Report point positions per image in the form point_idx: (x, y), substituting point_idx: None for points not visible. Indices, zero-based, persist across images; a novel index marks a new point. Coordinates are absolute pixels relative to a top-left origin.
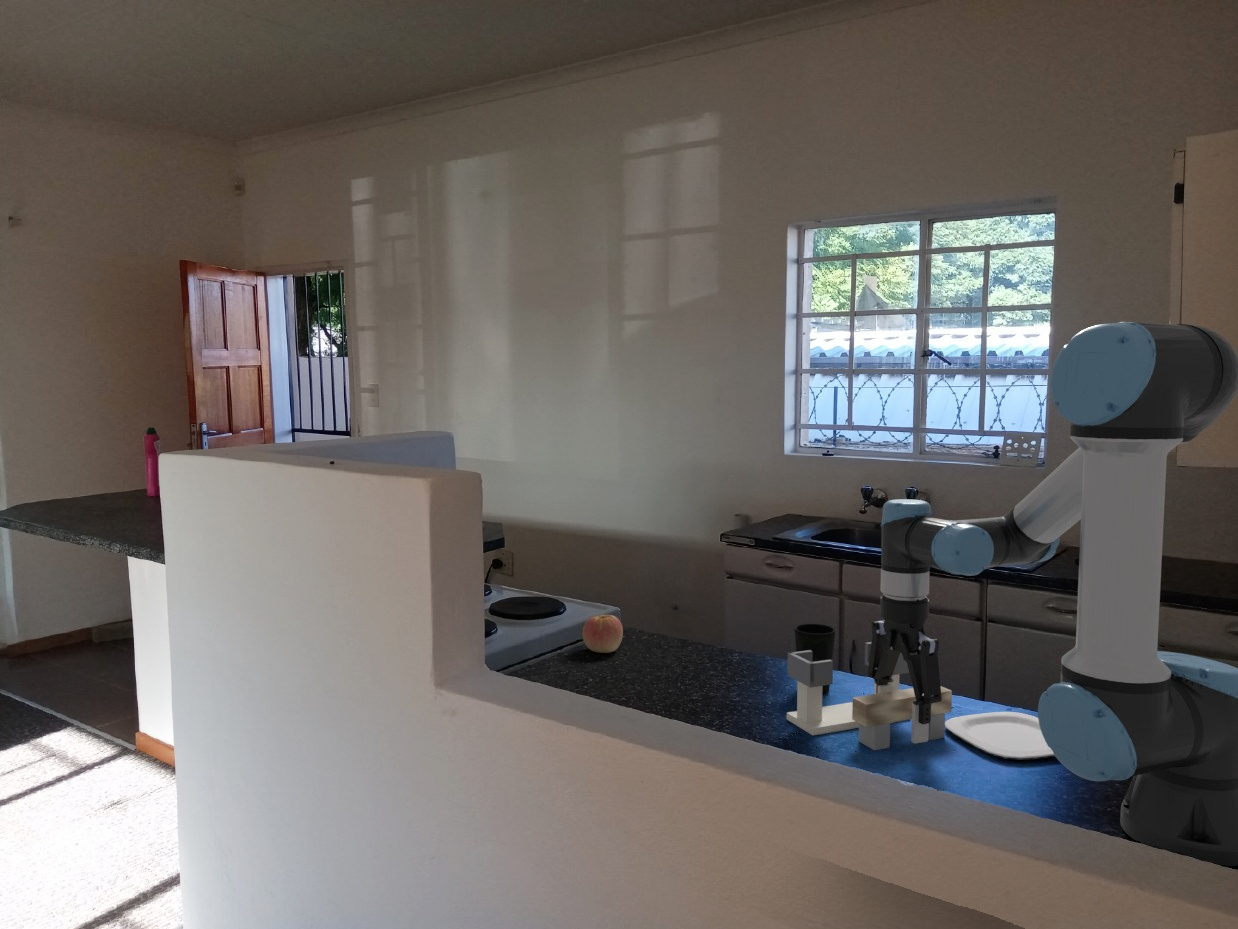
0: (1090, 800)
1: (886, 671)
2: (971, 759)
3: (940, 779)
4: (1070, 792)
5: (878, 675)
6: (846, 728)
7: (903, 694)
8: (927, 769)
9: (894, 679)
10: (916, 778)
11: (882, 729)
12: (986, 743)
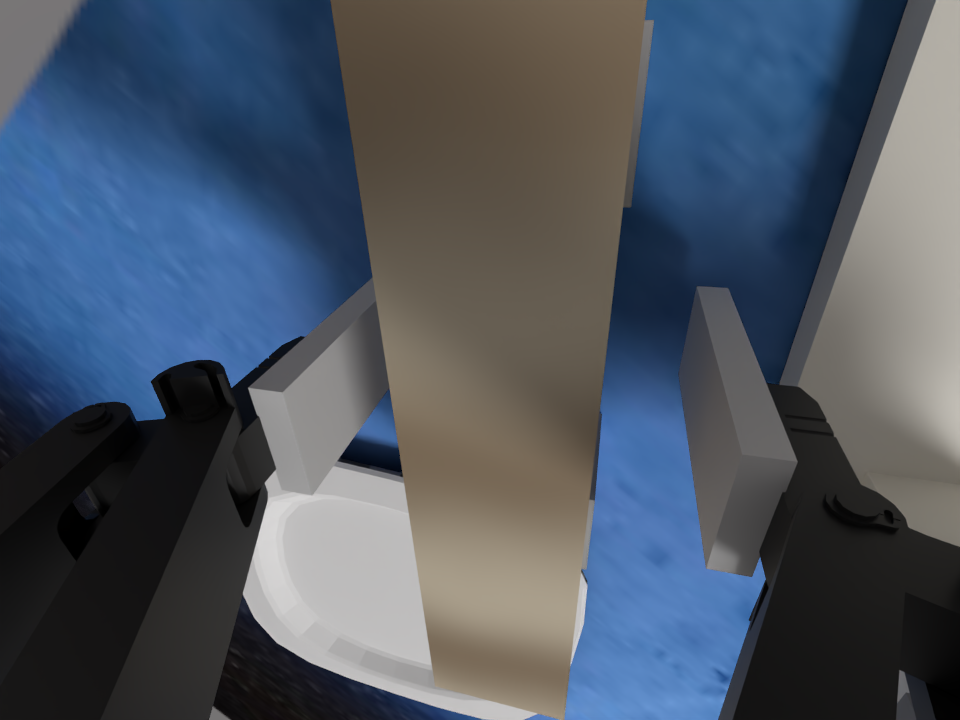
0: (26, 428)
1: (744, 662)
2: None
3: (114, 137)
4: None
5: (834, 569)
6: (883, 82)
7: (481, 473)
8: (211, 159)
9: None
10: (116, 24)
11: None
12: (323, 494)
